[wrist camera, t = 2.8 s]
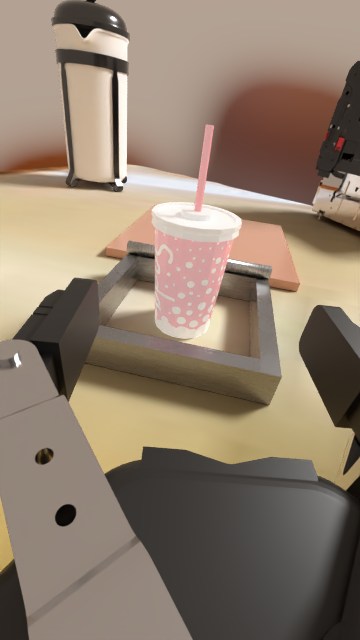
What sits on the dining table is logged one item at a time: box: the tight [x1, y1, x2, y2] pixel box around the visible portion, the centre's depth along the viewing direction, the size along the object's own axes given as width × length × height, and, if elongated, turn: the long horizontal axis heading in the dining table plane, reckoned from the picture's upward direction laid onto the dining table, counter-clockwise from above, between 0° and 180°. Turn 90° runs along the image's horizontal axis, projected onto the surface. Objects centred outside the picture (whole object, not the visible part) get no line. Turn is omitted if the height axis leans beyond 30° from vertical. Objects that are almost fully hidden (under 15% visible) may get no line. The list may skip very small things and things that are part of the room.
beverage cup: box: [152, 125, 242, 339], centre depth 21 cm, size 6×6×14 cm
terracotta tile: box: [106, 205, 300, 291], centre depth 42 cm, size 22×22×1 cm
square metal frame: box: [85, 240, 282, 405], centre depth 24 cm, size 14×14×4 cm
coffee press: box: [51, 0, 130, 192], centre depth 56 cm, size 17×16×30 cm
